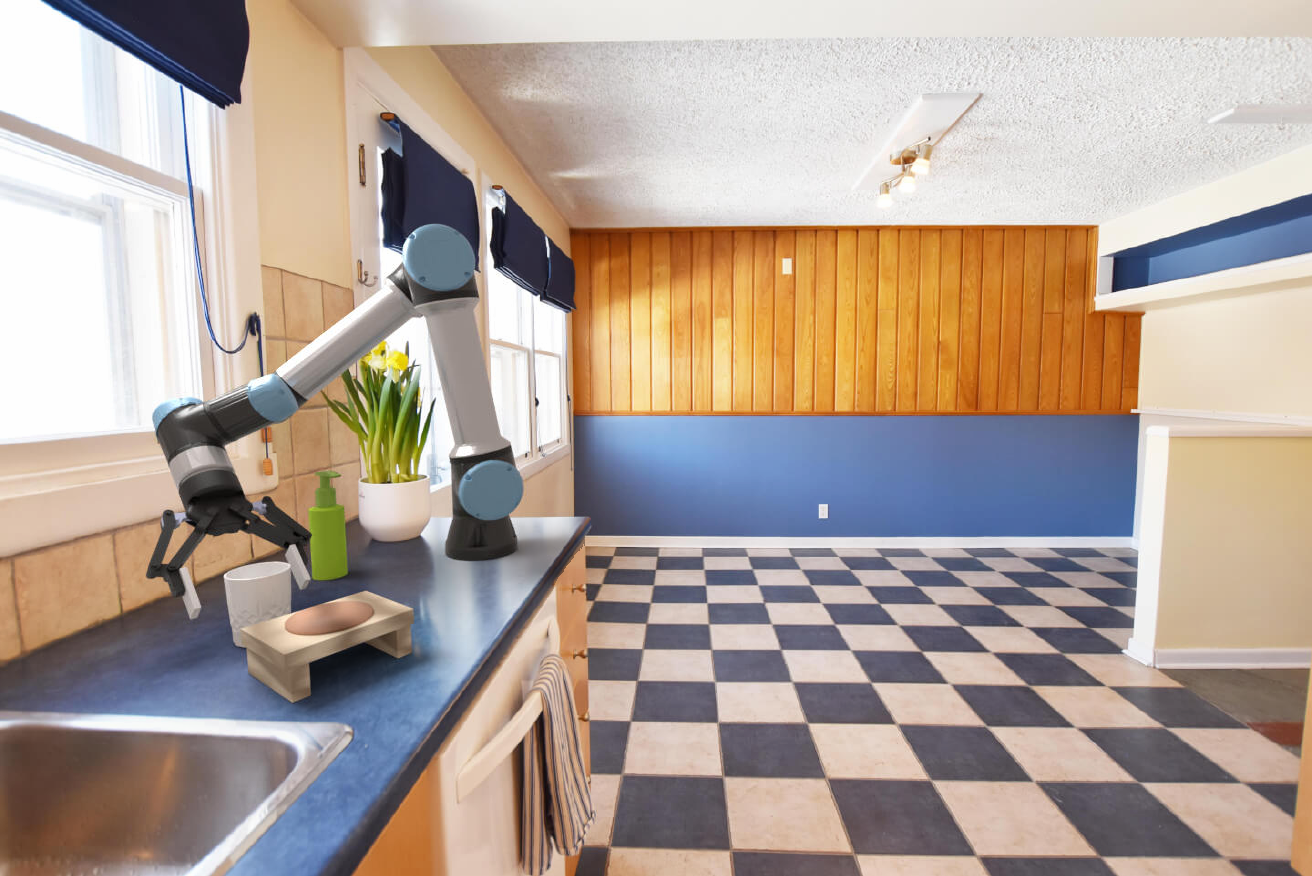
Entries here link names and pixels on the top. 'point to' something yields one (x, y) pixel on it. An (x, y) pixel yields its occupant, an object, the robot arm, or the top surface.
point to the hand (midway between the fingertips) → (254, 598)
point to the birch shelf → (323, 638)
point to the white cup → (257, 594)
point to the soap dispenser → (327, 532)
